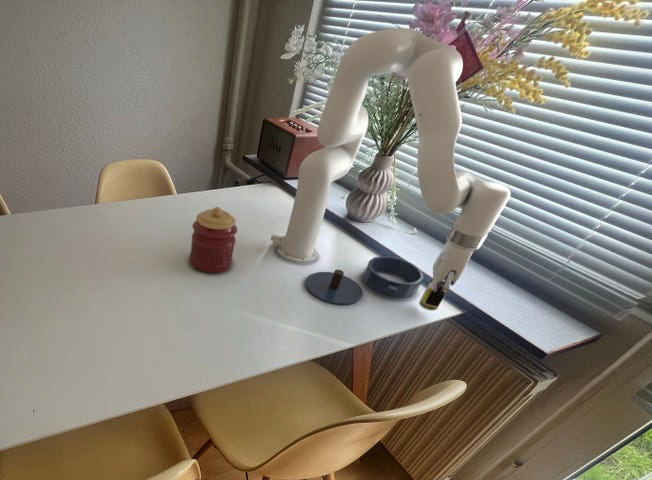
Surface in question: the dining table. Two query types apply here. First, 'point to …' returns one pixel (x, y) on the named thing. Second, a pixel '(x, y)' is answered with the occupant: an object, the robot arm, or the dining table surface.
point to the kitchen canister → (213, 241)
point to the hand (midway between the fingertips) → (431, 298)
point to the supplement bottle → (427, 293)
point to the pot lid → (334, 288)
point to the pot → (389, 286)
